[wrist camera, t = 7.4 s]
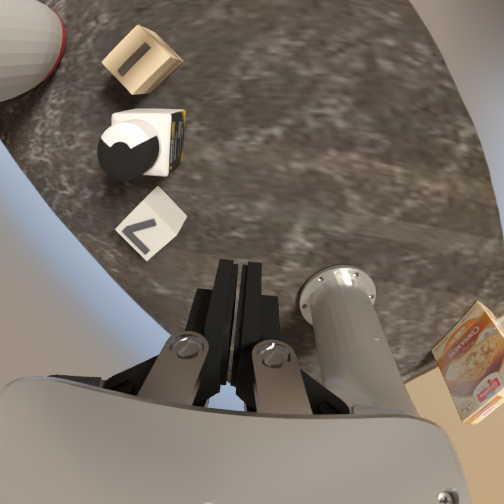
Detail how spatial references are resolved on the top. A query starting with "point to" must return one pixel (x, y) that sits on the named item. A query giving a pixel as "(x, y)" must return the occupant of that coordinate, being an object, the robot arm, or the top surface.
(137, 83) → the maple block one
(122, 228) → the white marked cube
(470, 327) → the coffeecake box
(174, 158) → the medicine bottle
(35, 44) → the citrus juicer
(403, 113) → the top surface
